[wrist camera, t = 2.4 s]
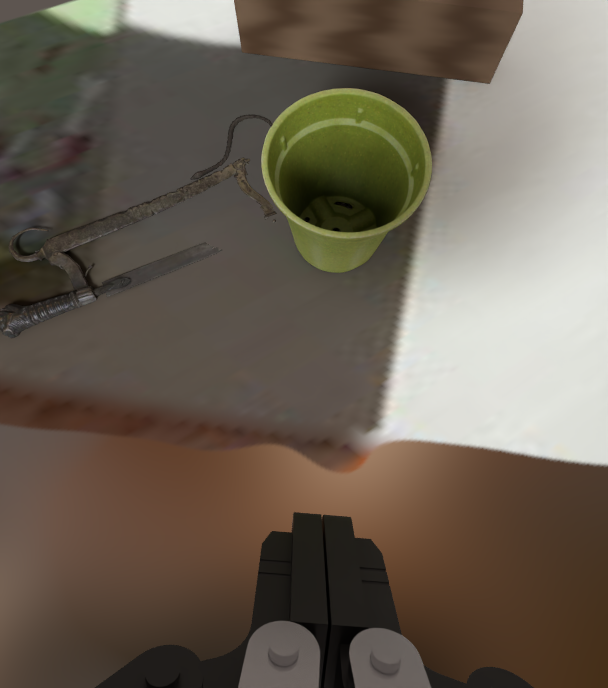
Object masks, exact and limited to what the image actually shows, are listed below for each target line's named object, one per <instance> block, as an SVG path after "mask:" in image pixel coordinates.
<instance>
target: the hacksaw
mask: <svg viewBox="0 0 608 688" xmlns="http://www.w3.org/2000/svg"><path fill="white" fill-rule="evenodd" d="M248 118H259V119H262V120H264V121H265V122H267V123H269V125H270V126H272V125H273V124H272V123H271V121H270V120H268V119H266V118H264V117H261V116H259V115H258V116H257V115H244V116H240V117H238V118H236V119H235V121H233V122H232V124H231V125H230V128H229V132H228V135H229V136H228V141H227V147H226V152H225V155H224V158H223V159H222V160H221V161H220V162H218V163H217V164H216V165H214V166H212V167H211V168H208V169H206V170H203V171H200V172H197V173H195V174H194V175H193V176H192V178H191V180H192V179H199V178H201V177H202V176H204V175H206V174H207V173H209V172H211V171H213V170H214V169H217V168H218V167H219V166H221V165H222V164H223V163H224V162H225V161H226V160H227V158H228V156H229V153H230V148H231V144H232V138H233V131H234V128H235V126H236V125H237V124H238V123H239V122H241V121H243V120H244V119H248ZM244 160H245V161H244ZM249 161H250V159H245V158H241V159H238V161H235V162H234V164H233V165H232V164H230V165H228V166H227V167H225V168H224V169H223V170H222V171H217V172H214V173H213V174H211V175H208V176H206V177H204V178H202V179H199V180H197V181H195V182H193V183H190V184H188V185H186V186H184V187H182V188H180V189H177V192H175V193H168V194H167V195H163V196H160V197H158V198H156V199H153V200H152V201H150V202H148V203H146V202H144V203H142V204H140V205H138V206H136V207H133V208H131V207H130V208H129V209H128V210H127V211H125V212H122V213H117V214H115V215H112V216H108V217H106V218H104V219H101V220H98V221H95V222H93V223H91V224H88V225H86V226H83V227H80V228H77V229H74V230H71V231H68V232H66V233H63V234H61V235H58V236H56V237H53V238H50V239H47V241H46V243H45V245H44V246H43V247H42V248H41V249H40V250H39V251H35V254H32V255H28V256H22V255H20V254H17V252H16V251H15V250H14V248H13V241H14V240H15V238H16V237H17V236H18V235H20V234H21V233H23V232H25V231H28V230H41V231H48V230H45V229H39V228H28V229H26V230H23V231H21V232H19V233H17V234H16V235H14V236H13V237H12V239H11V241H10V243H9V252H10V253H11V254H12V255H13V257H14V258H16V259H17V260H19V261H26V262H30V261H35V260H38V259H39V260H40V261H42V259H43V258H46V259H48V260H49V262H50V264H51V265H57V266H59V267H60V268H61V269H65V271H66V272H67V273H68V275H69V276H70V279H71V282H72V284H73V287H74V289H75V291H72V292H70V293H69V294H65V295H62V296H58V297H55V298H51V299H48V300H45V301H42V302H38V303H36V304H33V305H29V306H20V305H16V304H9V305H7V306H6V307H5V308H2V309H0V329H1V330H2V331H3V335H5V336H8V337H10V338H14V337H16V336H18V335H19V334H20V332H21V331H23V330H25V329H27V328H30V327H31V326H34V325H36V324H38V323H39V322H44V321H45V320H48V319H51V318H53V317H55V316H58V315H60V314H63V313H65V312H67V311H70V310H73V309H74V308H79V307H81V306H82V305H86V304H89V303H92V302H94V301H96V300H97V298H96V296H98V295H101V294H103V293H106V295H107V297H108V296H111V295H114V294H116V293H119V292H120V291H121V292H122V291H123V290H126V289H128V288H131V287H134V286H137V285H139V284H142V283H143V282H144V283H145V282H146V281H148V280H151V279H154V278H156V277H159V276H162V275H165V274H167V273H168V272H171V271H174V270H176V269H179V268H182V267H184V266H187V265H190V264H192V263H195V262H196V261H197V262H198V261H199V260H201V259H204V258H207V257H209V256H212V255H215V254H217V253H218V252H220V251H222V250H218V248H213V247H212V246H210V245H209V244H207V243H202V244H199V245H197V246H194V247H192V248H189V249H187V250H184V251H181V252H179V253H176V254H174V255H171V256H169V257H166V258H163V259H161V260H158V261H156V262H153V263H151V264H148V265H145V266H143V267H140V268H138V269H135V270H133V271H130V272H128V273H125V274H122V275H120V276H117V277H115V278H112V279H110V280H107V281H104V282H102V284H103V286H102V287H99V288H96V289H93V287H92V286H88V283H87V281H86V279H85V277H86V275H87V272H88V270H89V269H90V268H91V267H92V266H91V265H89V267H88V269H87V272H86V274H85V276H84V274H83V272H82V270H81V268H80V266H79V265H78V264H77V263H76V262H75V261H74V260H73V259H72V258H71V257H70V256H69V255H67V254H65V253H64V252H66V251H68V250H71V249H73V248H75V247H77V246H80V245H82V244H85V243H87V242H90V241H92V240H95V239H97V238H99V237H102V236H104V235H107V234H109V233H111V232H114V231H117V230H119V229H122V228H123V227H126V226H128V225H131V224H133V223H135V222H138V221H140V220H143V219H145V218H147V217H150V216H152V215H154V214H157V213H159V212H161V211H164V210H166V209H168V208H170V207H173V206H175V205H177V204H179V203H181V202H183V201H185V200H188V199H190V198H192V197H194V196H195V195H197V194H199V193H201V192H203V191H205V190H207V189H208V188H210V187H212V186H214V185H216V184H218V183H220V182H221V181H223V180H224V179H227V178H229V177H230V176H232V175H233V174H235V175H234V177H235V178H236V180H237V181H238V182H237V183H238V184H239V186H240V188H241V190H242V191H243V192H244V193H245V194H246V195H248V196H249V197H251V198H252V199H254V200H256V201H257V202H258V203H259V204H260V205H262V206H261V209H262V210H263V211H264V212H265V213H264V215H265V217H264V218H265V220H266V219H267V218H268V217H269V216H271V215H274V214H277V213H276V212H274V211H273V210H272V209H273V206H272V205H271V204H270V203H269V202H268V201H267V200H266V199H265V198H263V197H262V196H261V195H260V194H258V193H257V192H256V191H254V190H253V189H252V188H251V186H250V185H249V184H248V182H247V179H246V177H245V176H246V175H248V174H247V173H246V170H245V165H246V164H249V163H248V162H249ZM273 222H276V220H273ZM212 248H213V249H212Z"/></svg>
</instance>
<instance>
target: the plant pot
mask: <svg viewBox="0 0 608 688" xmlns="http://www.w3.org/2000/svg"><path fill="white" fill-rule="evenodd" d="M261 162H262V173H263V178H264V181H265V184H266V187H267V190H268V192H269V194H270V196H271V198H272V200H273V201H274V203H275V204H276V206H277V207H278V208H279V209H280V211H281V212H282V213H283V214H284V215H285V216H286V217H287V219H288V222H289V225H290V228H291V231H292V234H293V237H294V241H295V244H296V246H297V248H298V250H299V252H300V253H301V255H302V256H303V257H304V259H305V260H306V261H307V262H309V263H310V264H311V265H313V266H315V267H316V268H318V269H321V270H323V271H328V272H337V273H339V272H347V271H350V270H352V269H354V268H356V267H358V266H360V265H362V264H364V263H365V262H367V261H368V260H369V259H370V257H371V256H372V255H373V253H374V252H375V251H376V249H377V248H378V246H379V245H380V243H381V242H382V240H383V239H384V237H385V236H386V234H387V233H388V231H390V230H392V229H394V228H396V227H397V226H399V225H400V224H402V223H403V222H404V221H405V220H407V219H408V218H409V217H410V216H411V215H412V214H413V213H414V211H415V210H416V209H417V208H418V206H419V205H420V203H421V202H422V200H423V198H424V197H425V195H426V192H427V190H428V187H429V184H430V179H431V174H432V157H431V151H430V148H429V144H428V141H427V138H426V136H425V134H424V132H423V131H422V129H421V127H420V126H419V124H418V122H417V121H416V120H415V119H414V118H413V117H412V116H411V115H410V114H409V113H408V112H407V111H406V110H405V109H404V108H402V107H401V106H400V105H398V104H397V103H395V102H393V101H392V100H390V99H388V98H386V97H384V96H382V95H380V94H377V93H374V92H370V91H366V90H360V89H353V88H343V89H331V90H325V91H321V92H318V93H315V94H311V95H309V96H307V97H304V98H302V99H300V100H299V101H297V102H295V103H294V104H293V105H291V106H290V107H288V108H287V109H286V110H285V111H284V112H283V113H282V114H281V115H280V116H279V117H278V118H277V119H276V121H275V122H274V123H273V125H272V126H271V128H270V130H269V132H268V134H267V136H266V138H265V142H264V146H263V150H262V158H261ZM336 202H343V203H347V204H350V205H351V206H352V209H349V208H346V207H344V206H340V205H335V203H336ZM307 217H308V218H309V219H310V220H309V222H308V223H307V222H306V221H304V219H306V218H307ZM335 228H338V229H339V230H340V232H336V231H333V229H335Z"/></svg>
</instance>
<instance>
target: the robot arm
mask: <svg viewBox="0 0 608 688" xmlns="http://www.w3.org/2000/svg"><path fill="white" fill-rule="evenodd" d="M95 688H533V687H532V686H531V685H530V684H528V683H527V682H526V681H524V680H523V679H522V678H520V677H518V676H517V675H515V674H513V673H511V672H509V671H507V670H504V669H500V668H495V667H484V668H480V669H477V670H475V671H474V672H472V674H471V675H470V676H469V678H468V681H467V684H465V683H463V682H460V681H457V680H454V679H452V678H449V677H446V676H444V675H441V674H439V673H436V672H434V671H432V670H431V669H429V668H427V667H426V666H424V665H423V663H422V660H421V658H420V655H419V653H418V651H417V650H416V648H415V647H414V646H413V645H412V643H411V642H409V641H408V640H407V639H406V638H404V637H403V636H402V634H401V630H400V626H399V622H398V618H397V614H396V610H395V605H394V601H393V598H392V593H391V589H390V586H389V580H388V576H387V572H386V568H385V564H384V560H383V556H382V553H381V552H380V550H379V549H378V548H377V546H376V545H375V544H374V543H373V541H372V540H371V539H363V538H355V537H354V531H353V526H352V520H351V517H344V516H331V515H323V517H321V515H320V514H308V513H296V512H295V513H294V514H293V523H292V533H289V532H276V531H272V532H271V533H270V534H269V536H268V537H267V538H266V539H265V541H264V542H263V543H262V549H261V556H260V563H259V571H258V580H257V587H256V594H255V602H254V609H253V617H252V624H251V629H250V632H249V634H248V636H247V637H246V639H245V640H244V641H243V643H242V644H241V645H240V646H238V648H236V649H235V650H233V651H232V652H230V653H228V654H226V655H224V656H220V657H217V658H213V659H209V660H205V661H200V660H199V658H198V657H197V656H196V655H195V653H193V652H192V651H191V650H189V649H187V648H185V647H181V646H177V645H163V646H158V647H155V648H152V649H150V650H147V651H145V652H144V653H142V654H141V655H139V656H138V657H136V658H135V659H134V660H132V661H131V662H129V663H128V664H127V665H126V666H124V667H123V668H121V669H120V670H118V671H117V672H116V673H115V674H113V675H112V676H110V677H109V678H108V679H106V680H105V681H104V682H102V683H101V684H99V685H98V686H97V687H95Z"/></svg>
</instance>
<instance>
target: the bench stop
mask: <svg viewBox="0 0 608 688" xmlns="http://www.w3.org/2000/svg"><path fill="white" fill-rule="evenodd" d="M234 3H235V10H236V16H237V22H238V29H239V35H240V42H241V48H242V52H244V53H251V54H259V55H267V56H275V57H283V58H291V59H299V60H307V61H315V62H323V63H331V64H338V65H346V66H354V67H362V68H370V69H378V70H386V71H394V72H402V73H410V74H417V75H425V76H433V77H441V78H449V79H457V80H465V81H473V82H481V83H489V84H490V82H491V79H492V77H493V75H494V73H495V71H496V69H497V67H498V64H499V62H500V60H501V58H502V56H503V54H504V52H505V50H506V47H507V45H508V43H509V41H510V39H511V37H512V35H513V32H514V30H515V28H516V26H517V24H518V22H519V20H520V17H521V15H522V13H523V0H234Z"/></svg>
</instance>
